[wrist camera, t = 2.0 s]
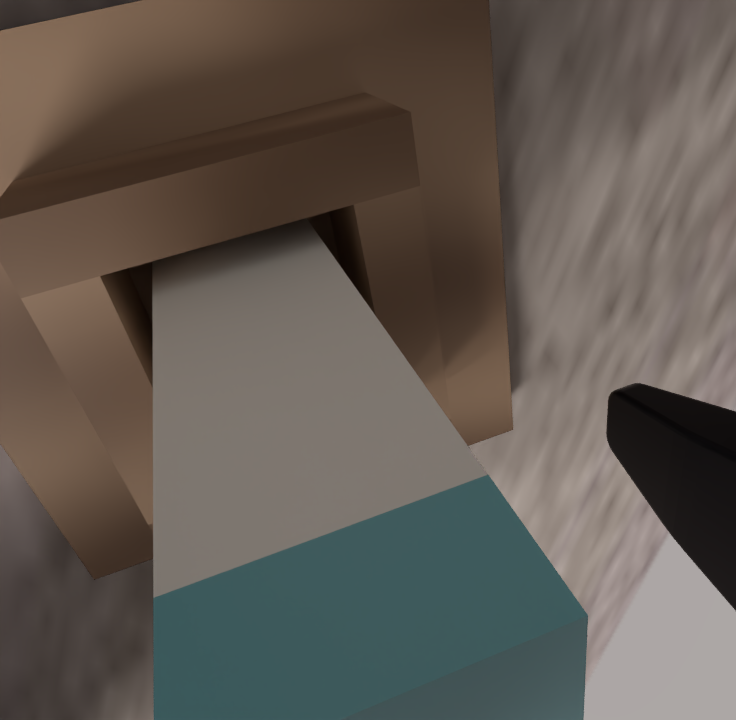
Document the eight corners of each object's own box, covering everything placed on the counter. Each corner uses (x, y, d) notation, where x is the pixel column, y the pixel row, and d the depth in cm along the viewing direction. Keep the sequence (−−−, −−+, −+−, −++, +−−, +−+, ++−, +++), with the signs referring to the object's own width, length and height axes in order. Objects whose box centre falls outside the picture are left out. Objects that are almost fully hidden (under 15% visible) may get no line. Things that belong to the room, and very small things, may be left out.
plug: (337, 364, 15) (578, 837, 6) (215, 404, 14) (305, 968, 6) (298, 206, 12) (587, 615, 4) (152, 247, 12) (153, 796, 4)
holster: (496, 410, 18) (561, 486, 15) (97, 550, 16) (85, 667, 14) (461, -68, 12) (562, -90, 9) (-215, 76, 10) (-365, 109, 7)
